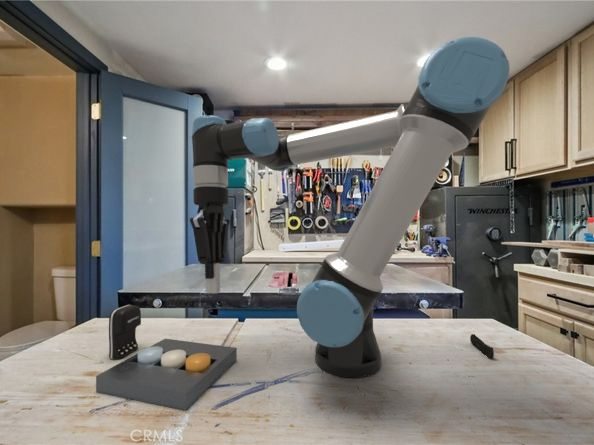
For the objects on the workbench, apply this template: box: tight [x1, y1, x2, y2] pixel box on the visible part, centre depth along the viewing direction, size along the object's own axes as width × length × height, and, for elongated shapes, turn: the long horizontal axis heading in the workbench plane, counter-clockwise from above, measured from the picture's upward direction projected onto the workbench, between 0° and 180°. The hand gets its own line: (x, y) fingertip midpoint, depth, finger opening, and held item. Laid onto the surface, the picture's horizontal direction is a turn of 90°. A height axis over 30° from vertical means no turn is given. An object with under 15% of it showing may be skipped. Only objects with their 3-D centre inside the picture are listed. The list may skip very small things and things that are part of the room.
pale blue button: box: [137, 346, 163, 365], centre depth 60 cm, size 5×5×3 cm
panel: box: [95, 338, 238, 411], centre depth 58 cm, size 20×18×3 cm
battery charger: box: [108, 304, 142, 360], centre depth 68 cm, size 7×4×11 cm, turn 171°
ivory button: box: [161, 350, 186, 369], centre depth 58 cm, size 5×5×3 cm
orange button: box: [186, 353, 210, 373], centre depth 57 cm, size 5×5×3 cm
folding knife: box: [469, 333, 495, 360], centre depth 69 cm, size 10×1×3 cm, turn 172°
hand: (213, 292), depth 62 cm, fingers closed
